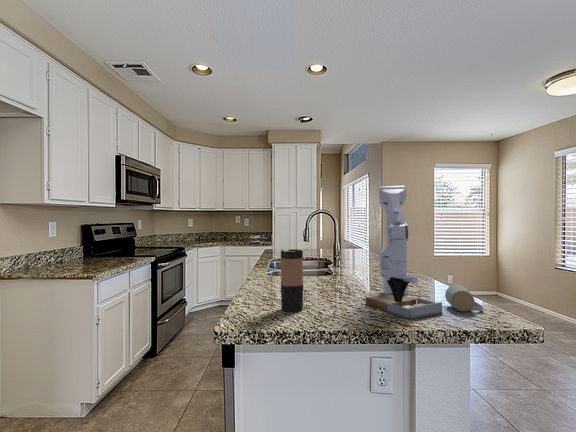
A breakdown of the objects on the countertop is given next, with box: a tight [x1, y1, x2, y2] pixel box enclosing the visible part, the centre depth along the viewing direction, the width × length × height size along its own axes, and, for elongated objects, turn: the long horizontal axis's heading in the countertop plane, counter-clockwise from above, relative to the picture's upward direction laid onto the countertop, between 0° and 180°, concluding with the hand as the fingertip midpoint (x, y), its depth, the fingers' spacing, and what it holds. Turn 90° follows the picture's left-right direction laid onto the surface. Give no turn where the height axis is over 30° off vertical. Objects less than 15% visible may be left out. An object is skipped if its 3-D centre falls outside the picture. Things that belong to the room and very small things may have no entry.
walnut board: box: [365, 293, 417, 312], centre depth 115 cm, size 13×11×2 cm
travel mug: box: [280, 249, 304, 313], centre depth 111 cm, size 8×8×20 cm
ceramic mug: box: [444, 284, 484, 313], centre depth 109 cm, size 11×8×8 cm
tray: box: [386, 297, 443, 320], centre depth 106 cm, size 14×9×4 cm, turn 117°
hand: (398, 301), depth 108 cm, fingers closed
